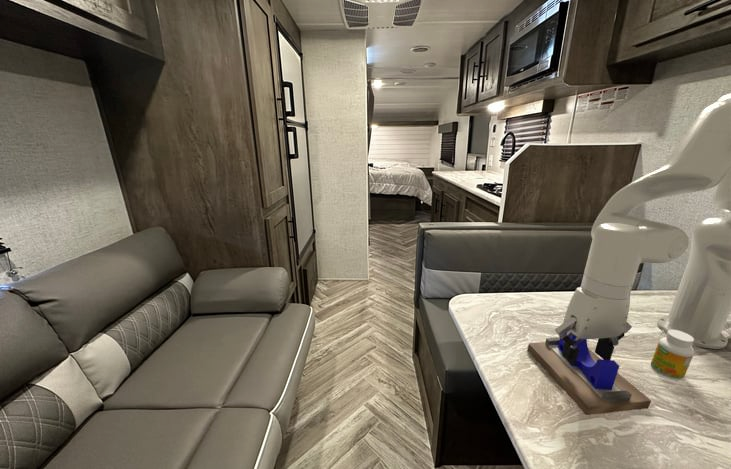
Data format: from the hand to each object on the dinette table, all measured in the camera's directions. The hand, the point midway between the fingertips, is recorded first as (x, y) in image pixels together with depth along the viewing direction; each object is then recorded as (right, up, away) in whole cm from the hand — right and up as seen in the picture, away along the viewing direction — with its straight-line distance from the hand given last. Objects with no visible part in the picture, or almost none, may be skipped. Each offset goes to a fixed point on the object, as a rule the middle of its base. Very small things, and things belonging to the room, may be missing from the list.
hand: (585, 358), depth 63 cm
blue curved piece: (0, -3, +1) cm, 3 cm away
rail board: (0, -5, +1) cm, 5 cm away
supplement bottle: (+20, -4, +2) cm, 21 cm away
